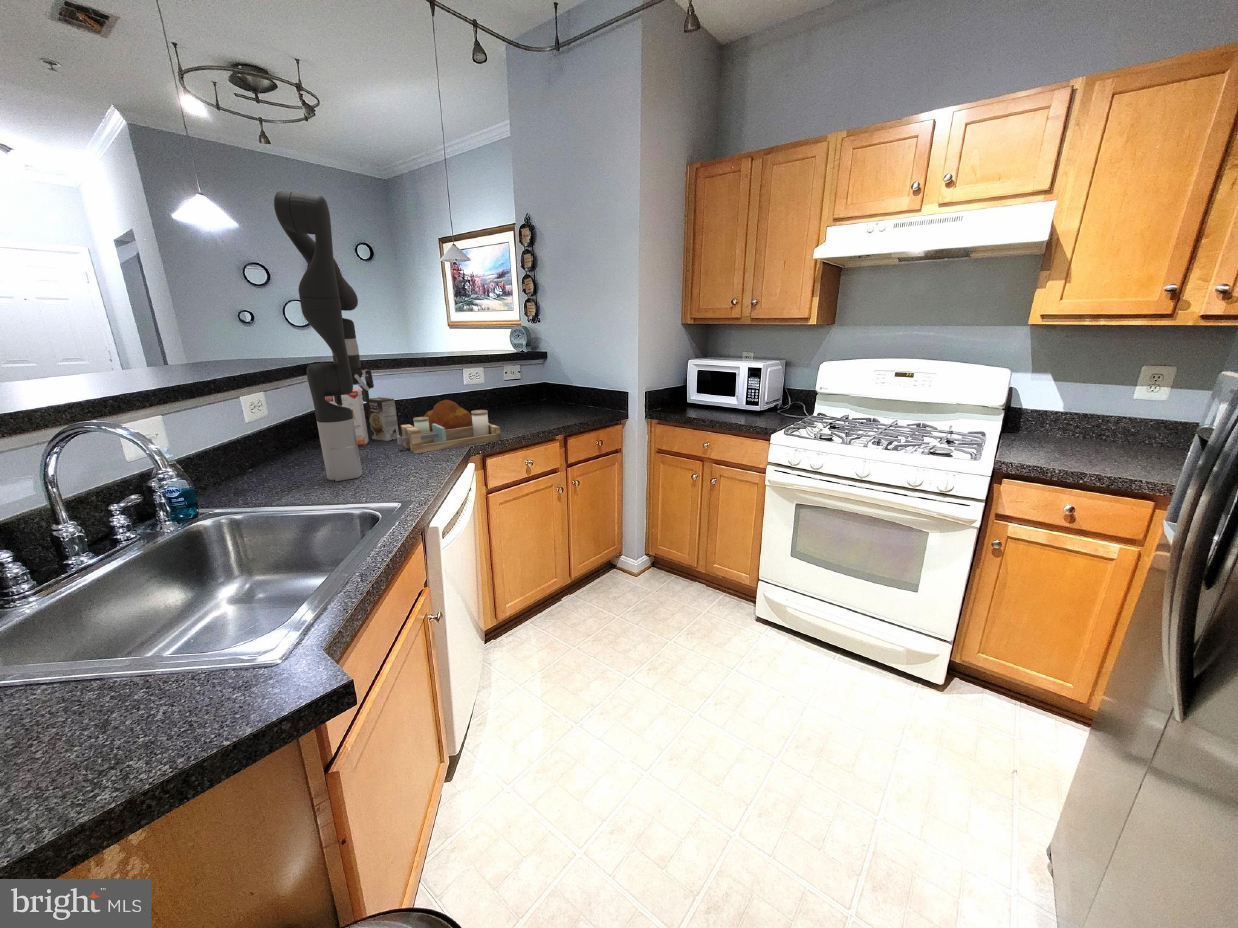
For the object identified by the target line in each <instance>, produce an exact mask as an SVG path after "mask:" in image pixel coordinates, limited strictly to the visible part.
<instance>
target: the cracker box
mask: <svg viewBox="0 0 1238 928" xmlns="http://www.w3.org/2000/svg"><path fill="white" fill-rule="evenodd" d="M361 390H362V389H361V388H355V389H354V388H353V391H352V393H351V394H348V395H341V398H342V405H341V406H342V407H347V408H350V409H351V411H352V414H353V420H354V426H355V433H356V439H357V445H358V446H365V445H367V444H368V443H369V440H370V439H369V434H368V427H367V421H366V415H365V413H366V412H365V408H364V402H363V399H362V392H361ZM325 399H326V401H328V402H330V403H332V404H334V405H337V404H336V403H335V400H334V396H326V397H325ZM337 406H339V405H337Z"/></svg>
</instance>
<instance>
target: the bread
mask: <svg viewBox="0 0 1238 928" xmlns="http://www.w3.org/2000/svg"><path fill="white" fill-rule="evenodd" d="M423 417H429V428H430V432H433V429H432V424H437V425H439V426H442V427H444V428H445V430H448V429H456V428H463V427H470V426H473V424H472V415H471V412H469V410H466V409H464V408H463V407H461V406H460V405H459V404H457V403H456V402H455V401H453V400H450V399H443V400H441V401H439V402H437V403H436V404H435V405H433V408H432V409H431V410H428V411H427V412H426V413H425V414H424V415H423Z"/></svg>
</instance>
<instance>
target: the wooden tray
mask: <svg viewBox="0 0 1238 928" xmlns="http://www.w3.org/2000/svg"><path fill="white" fill-rule="evenodd" d="M488 425H489V435H483V436H477V437H474V434H473V425H471V426H470V427H463V428H456V429H448V430H445V433H446V441H443V442H437V443H435V442H434V438H428V439H421V435H424V434H431V433H433V432H426V433H421V430H419V429H417V428H415V427H414V425H411V424H409V423H408V424H400V428H401V437H409V441H407V442H402V445H403V447H404V448H405V449H410V452H411V451H412V452H411V453H413V454H414V453H415V454H420V453H426V452H427V451H428V452H433V451H440V450H446V449H453V448H459V447H465V446H472V445H477V444H483V443H484V444H485V443H490V442H496V441H501V440H502V435H501V427H500V426H498V425H495V424H492V423H489V422H488ZM428 452H427V453H428Z"/></svg>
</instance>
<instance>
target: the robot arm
mask: <svg viewBox="0 0 1238 928" xmlns="http://www.w3.org/2000/svg"><path fill="white" fill-rule="evenodd" d="M273 207H274V212H275V216H276V218H277V221H278V223H279V225H280V226H281V229H283V230H282V231H284V232H285V234H286V235H287V237H288V238H289V239H290V241H291V242H292V244H293V245H294V246H295V248H296V249H297V251H298V252H299V253H300V254H301V256H302V257H303V259H304V260H305V262H306V263H307V265H308V266H307V268H306V270H305V272H304V273H303V276H302V277H301V280H300V282H299V285H298V295H299V296H298V297H299V298H298V299H299V302H300V309H301V314H302V315H303V318H304V320H306V322H307V323H308V324H309V325H310V327H312V329H313V330H314V331H315V332H316V333H317V334H318V335H319V337H321V338H322V339H323V341H324V342H325V343H326V345H327V347H328V348H329V349H330V351H331V354H332V362H324V363H323V362H322V363H310V364H308V365H307V368H306V378H307V383H308V386H309V390H310V394H311V398H312V402H313V407H314V414H315V419H316V423H317V429H318V436H319V442H320V448H321V452H322V457H323V458H322V459H323V463H324V467H325V473H326V477H327V480H328V481H334V480H335V482H341V481H346V480H353V479H358V478H360V476H362V475H363V470H362V469H363V467H362V463H361V459H360V451H359V447H358V446H359V445H357V439H356V433H355V426H354V420H353V414H352V411H351V409H350V408H347V407H342V406H341V405H342V398H341V395H348V394H351V393H352V391H353V389H354V386H358V387H359V389H361V394H362V400H363V403H366V402H368V400H369V399H370V394H369V391H370V390H371V389H373V388H374V387H375V385H374V379H373V375H372V370H370V369H363V370H362V369H361V366H362V365H361V357H360V350H359V345H358V341H357V335H356V334H357V333H356V328H355V323H354V321H353V320H352V319H349V318H345V317H343V312H342V311H344V312H345V311H346V312H347V311H349V312H350V311H353V310H356V308H357V307H358V305H359V301H358V299H359V298H358V295H357V293H356V291H355V290H354V288H353V287H352V286H351V285H350V284H349V283H348V281H347V280H346V279H345V278H344V277H343V275H342V273H341V269H340V267H339V265H338V263H337V261H336V260H335V258H334V248H333V234H332V225H331V222H332V221H331V214H330V209H329V205H328V202H327V200H326V199H325V197H324V196H323V195H320V194H318V193H310V192H309V193H308V192H302V191H301V192H300V191H293V190H292V191H290V190H279V191H277V192H276V193H275V195H274V197H273ZM310 235H314V237H315V240H314V239H313V238H312V237H311V236H310ZM362 376H363V377H364V380H362ZM326 396H334V400H335V403H336V404H337V405H339V406H337V405H334V404H332V403H330V402H328V401H326V399H325V397H326Z"/></svg>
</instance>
